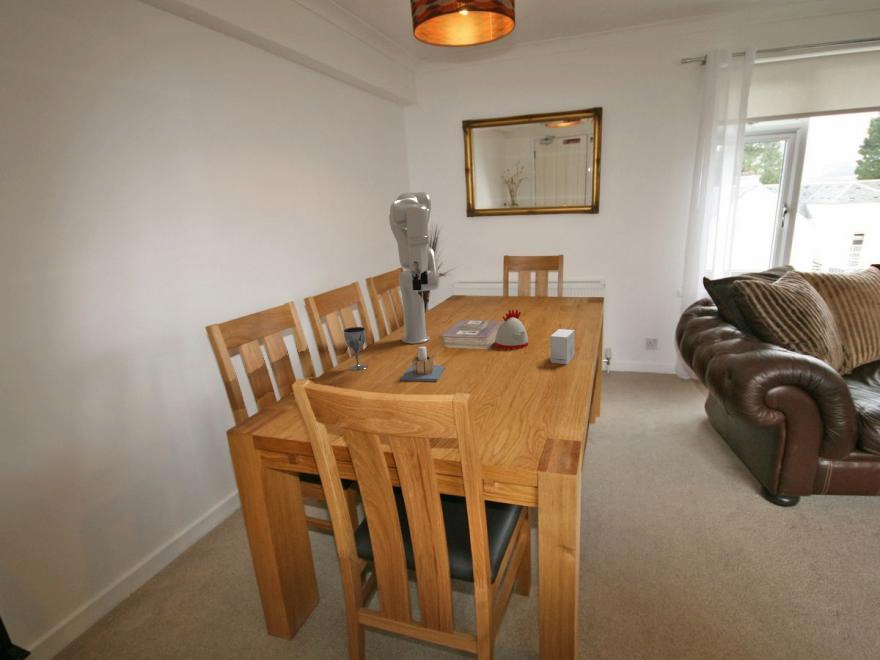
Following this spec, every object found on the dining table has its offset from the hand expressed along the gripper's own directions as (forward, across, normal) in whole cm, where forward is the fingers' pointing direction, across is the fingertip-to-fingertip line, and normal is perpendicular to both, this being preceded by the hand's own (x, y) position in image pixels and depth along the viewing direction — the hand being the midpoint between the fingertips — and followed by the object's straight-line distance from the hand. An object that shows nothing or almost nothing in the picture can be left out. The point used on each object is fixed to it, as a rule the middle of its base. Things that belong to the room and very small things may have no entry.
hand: (420, 287), depth 173 cm
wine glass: (+29, +12, -23) cm, 39 cm away
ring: (+27, +16, +4) cm, 32 cm away
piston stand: (+28, +16, +4) cm, 33 cm away
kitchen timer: (+30, -22, +32) cm, 49 cm away
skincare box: (+28, -4, +53) cm, 60 cm away
